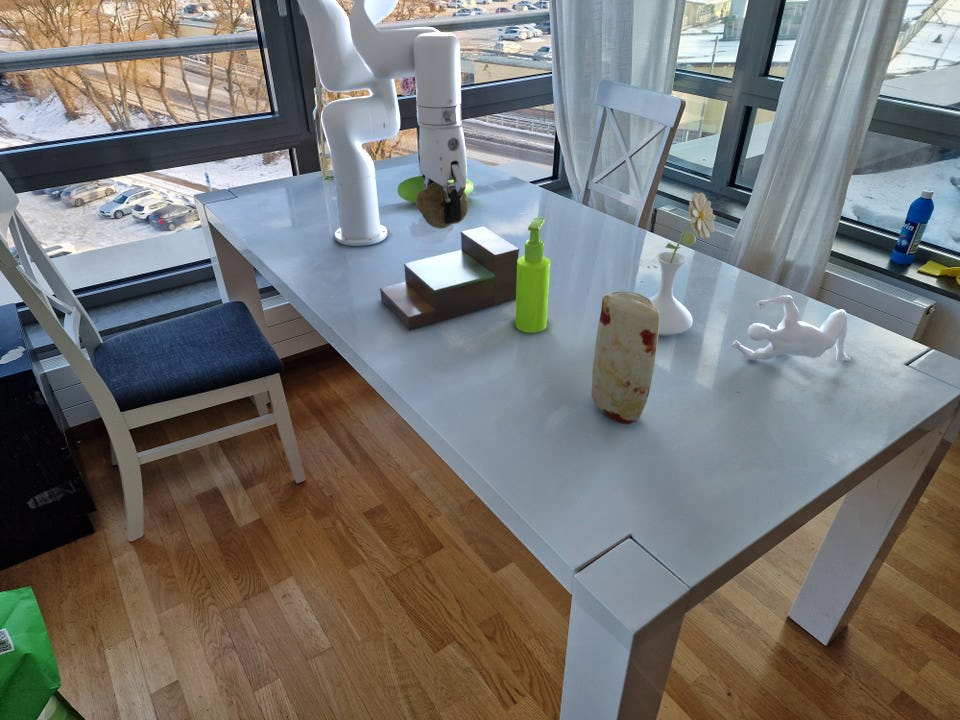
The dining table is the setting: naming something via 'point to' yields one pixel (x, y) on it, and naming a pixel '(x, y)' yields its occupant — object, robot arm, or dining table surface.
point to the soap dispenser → (532, 283)
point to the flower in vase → (671, 310)
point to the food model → (624, 355)
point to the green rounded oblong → (421, 188)
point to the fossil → (437, 205)
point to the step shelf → (455, 281)
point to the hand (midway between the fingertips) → (443, 214)
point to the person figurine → (797, 334)
